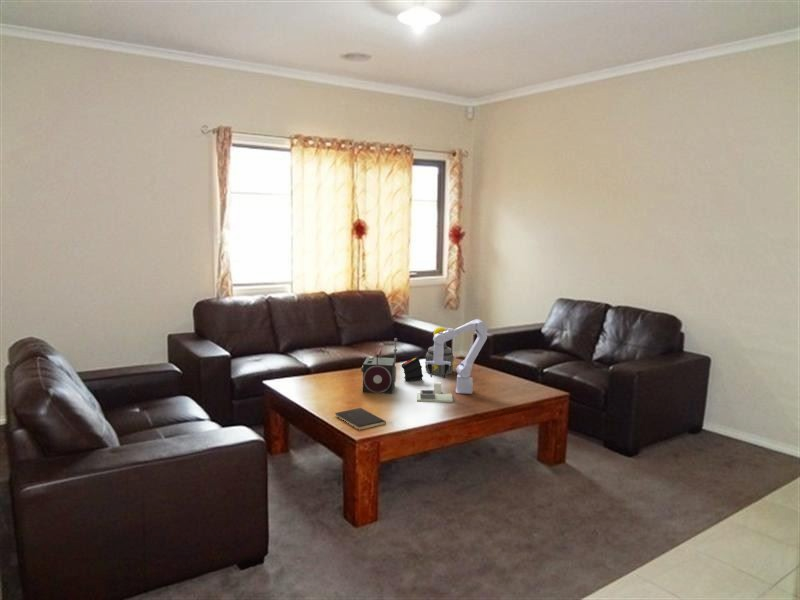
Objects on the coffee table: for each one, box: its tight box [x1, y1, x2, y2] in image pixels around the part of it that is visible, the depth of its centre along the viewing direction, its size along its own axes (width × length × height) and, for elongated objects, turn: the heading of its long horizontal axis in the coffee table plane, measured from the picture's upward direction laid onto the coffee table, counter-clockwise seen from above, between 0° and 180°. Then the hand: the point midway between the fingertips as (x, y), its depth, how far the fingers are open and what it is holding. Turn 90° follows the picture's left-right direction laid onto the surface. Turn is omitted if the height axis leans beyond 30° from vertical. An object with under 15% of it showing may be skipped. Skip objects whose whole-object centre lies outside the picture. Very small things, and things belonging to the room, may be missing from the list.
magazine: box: [401, 356, 424, 383], centre depth 370 cm, size 4×13×15 cm, turn 110°
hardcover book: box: [335, 407, 387, 431], centre depth 300 cm, size 16×23×2 cm
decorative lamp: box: [424, 326, 455, 376], centre depth 391 cm, size 19×19×30 cm
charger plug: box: [433, 381, 442, 394], centre depth 347 cm, size 4×4×6 cm
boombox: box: [360, 337, 398, 395], centre depth 350 cm, size 18×21×30 cm
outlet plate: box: [416, 389, 454, 403], centre depth 337 cm, size 20×12×4 cm, turn 89°
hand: (437, 377), depth 346 cm, fingers open, 7 cm apart
